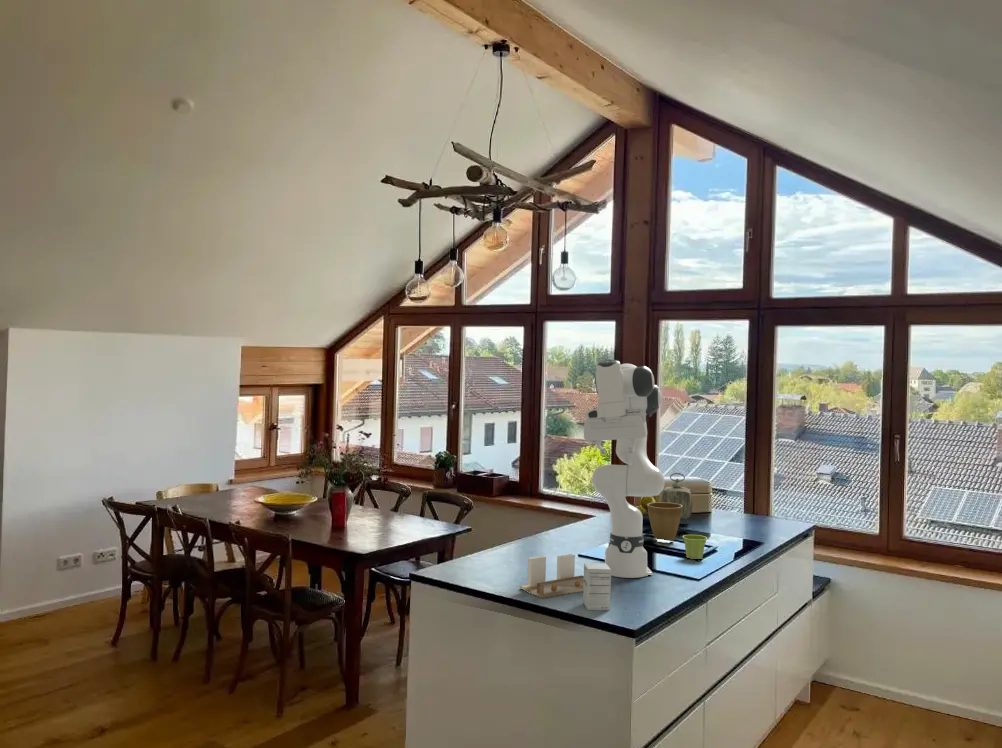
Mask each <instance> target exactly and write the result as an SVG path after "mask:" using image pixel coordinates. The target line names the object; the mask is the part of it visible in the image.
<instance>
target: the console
mask: <svg viewBox="0 0 1002 748" xmlns="http://www.w3.org/2000/svg"><path fill="white" fill-rule="evenodd" d="M583 583H584V575H577V576H575V575H574V577H570V578H564V579H558V580H557V579H552V580H545V582H540V583H537V586H532V587H531V586H528V585H527V584H523V585H519V590H520V589H523V590H525V591H528V592H530V593H532V594H531V595H533V594H535V595H537V596H536V597H538V596H539V597H538V598H540V597H542V598H541V599H546V598H545V597H548V598H552V597H551V596H553V597H558V596H557V595H559V596H562V595H561V594H564V595H569V594H573V593H574V592H575V593H579V592H583ZM525 591H524V592H525ZM530 593H529V594H530ZM568 593H569V594H568ZM535 595H534V596H535Z"/></svg>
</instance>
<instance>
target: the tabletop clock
mask: <svg viewBox="0 0 1002 748" xmlns="http://www.w3.org/2000/svg"><path fill="white" fill-rule="evenodd" d="M674 475H680V476H682V477H683V479H680V480H679V478H676V479H673V478H672V476H674ZM669 479H670V480H671V481H673V483H672V486H666V487H664V488H663V490H662V492H661V493H662V494H661V502H665V503H676V504H680V505H682V512H681V518H680V519H684V520H685V523H686V522H689V523H690V521H689V520H688V518H690V517H691V515H692V512H693V496H692V492H691V489H690V488H688V487H684V486H683V485H682V483H681V482H684V481H685V479H686V476H685V475H684V474H683V473H681V472H674V473H672V474H671V475H670V477H669Z"/></svg>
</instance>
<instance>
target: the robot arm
mask: <svg viewBox="0 0 1002 748" xmlns="http://www.w3.org/2000/svg"><path fill="white" fill-rule="evenodd" d="M595 373H596V374H595V389H596V393H597V394H598V400H597V401H598V406H597V407H595V408H592V409H591V410H588V411H586V412H585V414H584V416H585V419H586V420H584V424H583V438H584V440H585V441H586V442H595V445H596V447H597V448H598V450H599V454H600V455H606V454H607V453H606V448H605V447H603V446H602V445H601V444H602V441H613V440H615V441H616V444H615V445H616V447H615V454H616V456H617V457H618V459H619V460H620V461H621V462H622V463H625V465H624V464H605V465H604V464H603V465H599V466H597V467H596V468H595V469H594V471H593V473H592V476H591V477H592V478H591V483H592V486H593V488H594V490H595V492H597V493H598V494H600V495H601V496H602V498H604V500H605V501H606V503H607V505H608V508H609V511H610V518H611V520H610V521H611V524H610V525H611V528H610V529H611V532H610V534H609V546H607V547H606V549H605V551H604V557H605V558H604V563H605V564H607V565H608V566H609V568H610V569H611V577H616V578H617V577H618V578H625V579H626V578H627V579H629V578H630V579H634V578H635V579H637V578H643V577H649V576H648V575H651V576H653V571H652V570H651V569H650V568H649V567H648V564H649V563H648V551H647V550H646V549H645V548H644V546H643V545H644V540H645V539H644V535H643V525H644V524H643V523H644V522H643V519H644V518H643V513H642V511H641V510H640V509H639V508H637V507H636V506H634V505H633V504H630V503H629V502H628V501H627V498H626V497H637V498H649V497H650V498H651V497H655V496H656V497H657V496H659V495H660V494H661V493H663V490H664V488H665V484H666V483H665V481H666V479H665V477H664V474H663V472H662V471H661V469H659V468H658V467H656V466H655V465H654V464H653V463H652V462H651V461H650V459H649V457H648V454H647V442H648V427H647V426H648V425H647V415H648V417H649V418H651V417H652V416H653V414H654V413H656V412H657V411H658V409H660V406H661V403H662V400H663V399H662V398H663V397H662V392H661V389H660V387H659V386H658V385H657V384H655V376H654V374H653V371H652V369H650V368H649V367H647V366H646V365H641V366H636V365H634V364H632V363H622V364H621V362H620V361H619V360H617V359H605V360H602V361H599V362H598V363H597V364H596V370H595Z"/></svg>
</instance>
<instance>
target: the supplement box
mask: <svg viewBox="0 0 1002 748" xmlns="http://www.w3.org/2000/svg"><path fill="white" fill-rule="evenodd" d="M583 576H584V583H583V591H582V603H583V604H584V606H585V609H586V610H587V611H610V610H611V586H612V585H611V584H612V575H611V569H610V568H609V566H608V565H607V564H605V562H604V563H602V562H600V563H599V562H598V563H597V562H596V563H594V562H593V563H591V562H590V563H589V562H587V563H586V562H585V563H583Z"/></svg>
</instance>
